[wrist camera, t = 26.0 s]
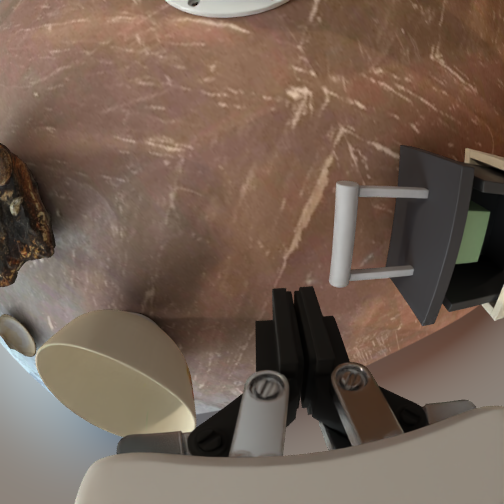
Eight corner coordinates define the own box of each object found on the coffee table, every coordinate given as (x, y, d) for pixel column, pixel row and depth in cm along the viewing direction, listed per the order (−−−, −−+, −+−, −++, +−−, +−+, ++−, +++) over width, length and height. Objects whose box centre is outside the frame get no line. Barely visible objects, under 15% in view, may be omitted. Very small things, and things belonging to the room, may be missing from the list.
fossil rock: (-28, 175, 18) (-60, 191, 13) (30, 116, 17) (-12, 125, 12) (12, 271, 25) (-13, 297, 20) (78, 242, 23) (46, 274, 18)
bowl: (175, 390, 33) (162, 453, 25) (70, 336, 29) (38, 393, 20) (235, 321, 27) (230, 407, 18) (92, 243, 23) (33, 307, 14)
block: (415, 240, 21) (441, 266, 17) (423, 191, 19) (454, 210, 15) (450, 238, 21) (477, 262, 17) (459, 193, 19) (490, 211, 15)
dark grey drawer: (315, 275, 24) (337, 340, 17) (319, 139, 18) (358, 155, 11) (479, 261, 23) (519, 300, 16) (499, 162, 18) (553, 186, 11)
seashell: (48, 340, 33) (19, 308, 27) (45, 356, 30) (13, 325, 25) (17, 342, 32) (-10, 312, 27) (13, 357, 30) (-16, 328, 24)
